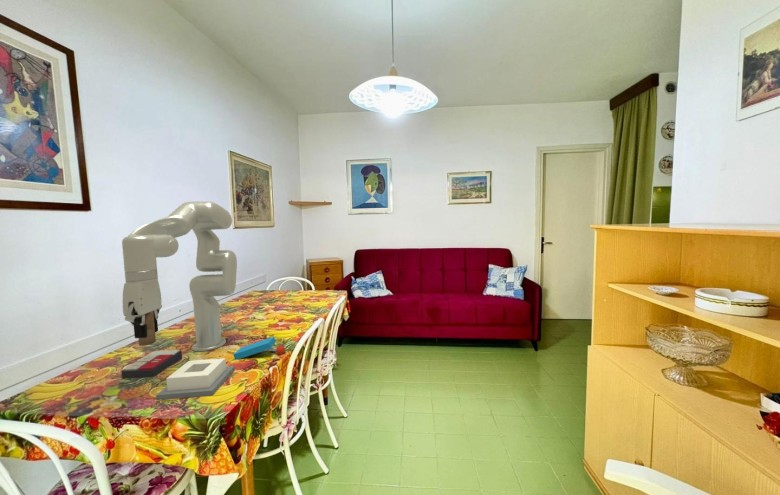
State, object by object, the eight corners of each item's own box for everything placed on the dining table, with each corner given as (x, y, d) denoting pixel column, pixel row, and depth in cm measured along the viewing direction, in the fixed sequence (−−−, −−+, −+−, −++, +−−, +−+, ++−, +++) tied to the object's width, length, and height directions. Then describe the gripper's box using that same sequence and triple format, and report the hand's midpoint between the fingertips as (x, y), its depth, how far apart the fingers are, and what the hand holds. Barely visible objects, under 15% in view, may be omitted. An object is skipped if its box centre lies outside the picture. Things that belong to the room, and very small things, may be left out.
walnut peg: (145, 341, 91) (142, 310, 91) (158, 340, 92) (156, 309, 91) (135, 346, 87) (132, 313, 87) (149, 345, 88) (147, 313, 87)
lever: (239, 371, 114) (283, 356, 115) (233, 354, 113) (277, 340, 114) (246, 363, 121) (288, 349, 122) (240, 347, 120) (282, 333, 121)
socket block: (187, 373, 103) (186, 358, 102) (234, 370, 104) (233, 355, 104) (156, 399, 87) (154, 382, 86) (212, 395, 89) (211, 377, 88)
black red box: (120, 369, 100) (153, 349, 115) (121, 381, 101) (154, 359, 116) (152, 368, 101) (181, 348, 116) (154, 379, 101) (182, 358, 116)
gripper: (148, 272, 96) (152, 326, 97) (104, 281, 79) (110, 346, 81) (172, 271, 97) (176, 325, 98) (134, 280, 80) (139, 344, 81)
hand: (146, 334), depth 89 cm, fingers closed on walnut peg, 4 cm apart
